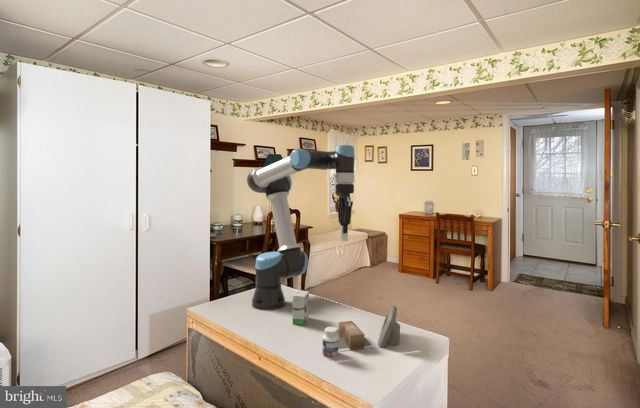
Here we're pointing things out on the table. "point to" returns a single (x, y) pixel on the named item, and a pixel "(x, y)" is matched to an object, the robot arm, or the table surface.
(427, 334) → the table surface
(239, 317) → the table surface
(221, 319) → the table surface
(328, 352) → the pill bottle
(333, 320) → the table surface
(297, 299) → the ink box
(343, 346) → the mat
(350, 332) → the block
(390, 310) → the digital clock
